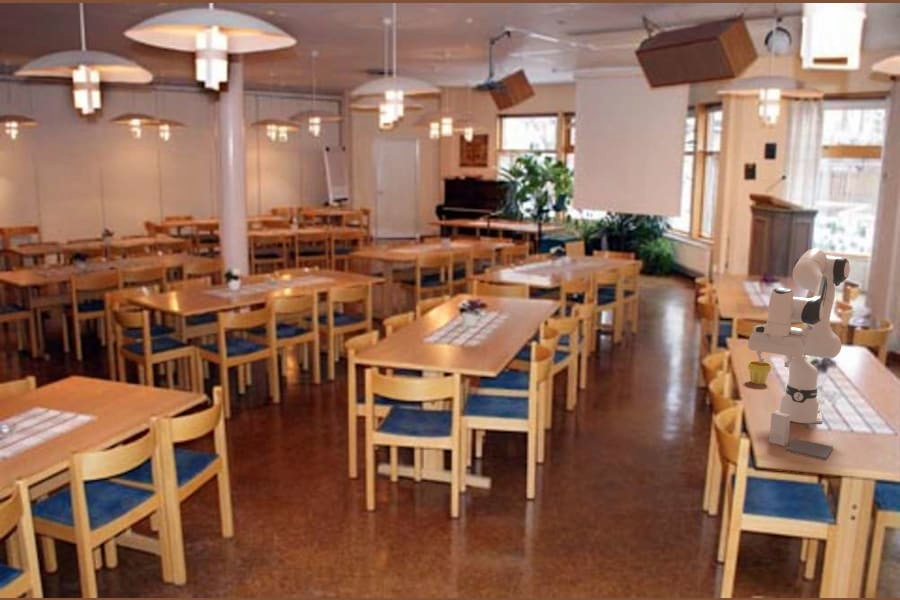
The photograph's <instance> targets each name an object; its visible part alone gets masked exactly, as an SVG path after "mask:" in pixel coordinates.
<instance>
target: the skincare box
mask: <svg viewBox="0 0 900 600" xmlns="http://www.w3.org/2000/svg"><path fill="white" fill-rule="evenodd" d="M790 423H791V421H790V415H789V414H785V413H781V412H777V410H775V411H774V412H772V413H771V417H770V427H769V428H770V431H769V439H768V440H769V443H771V444H775V445H779V446H782V447H786V446H787V445H788V444H789V437H790V428H791V427H790V425H791V424H790Z"/></svg>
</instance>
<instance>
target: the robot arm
mask: <svg viewBox="0 0 900 600" xmlns="http://www.w3.org/2000/svg"><path fill="white" fill-rule="evenodd" d="M850 271H851V265H850V262H849V260H848V259H847V258H845V257H841V256H833V255H827V253H825V251H824V250H821V249H819V248H810V249H808V250H807V251H805V252H804V253H803V254H802V255H801V256H798V257H797V258H796V259H795V261H794V263H793V269H792V279H793V281H794V282H795V284H796V285H797V286H798V287H800V288H801V289H802V290H803V289H804V290H807V293H806V296H805V297H801V296H799V297H798V296H794V291H793V289H791V288H789V287H788V288H787V287H776V288H773V289H772V291H771V294H770V297H769V302H768V306H767V308H768V309H767V311H768V312H767V313H768V316H767V319H766V323H765V324H758V325H756V326H753V328H752V331H753V332H752V333H751V334H750V336H749V338H748V342H747V343H748V344H747V348H748V349H749V350H751V351H756V355H757V358H758V361H759V363H764V362H765V358H764V357H762V355H761V354H763V353H768V354H775V355H782V356H785V358H786V360H787V361H785V362H784V366H783V367H785V368H788V383H787V385H786V388H785V389H786V393H785V394H783V396H781V400H780V407H779V409H777V410H776V411H777V412H781V413H785V414H789V415H790V422H794V423H799V424H822V423H823V414H822V411H821V410H820V409H819V404H820V403H819V400H818V398H817V396H818V388H817V386H818V379H819V371H818V369H817V368H816V366H814V364H812V363H810V362H809V361H808V360H807V358H806V356H807V357H808V356H809V357H812V358H813V357H814V358H820V359H834V358H835V357H838V355H839V353H840V352H841V349H842V342H841V338H840V337H839V336H838V335H837V334H836V333H835V332H834V330H832V328H831V321H830V318H831V313H832V309H833V306H834V301H835V294H836V287H838V286H840V285H841V283H843V282H845V281H846V280H847V279H848V277H849V275H850V273H851V272H850ZM792 322H797V323H804V324H807V325H808V326H810V327H812V328H811V329H807V328H799V327H792Z"/></svg>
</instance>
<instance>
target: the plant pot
mask: <svg viewBox="0 0 900 600" xmlns="http://www.w3.org/2000/svg"><path fill="white" fill-rule="evenodd" d="M747 369H748V371H749V376H750V377H749V379H750V383H752V384H756V385H765V384H766V381H767V378H768V377H769V373H770V372H771V369H772V364H771V363H769V362H765V361H764V363H759V360H751V361H749V362H748V366H747Z"/></svg>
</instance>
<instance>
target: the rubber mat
mask: <svg viewBox="0 0 900 600" xmlns="http://www.w3.org/2000/svg"><path fill="white" fill-rule="evenodd" d="M833 449H834V446H831V445H827V444H823V443H817V442H814V441H809V440H805V439H799V438H795V437H794V438H793V439H792V441H791V442H790V444H789V445H788V446H787V447H786V449H785V451H786V452H788V451H789V452H788V453H792V452H793V454H796V453H798V454H797V455H801V454H802V455H801V456H805V455H806V456H805V457H810V456H811V458H814V457H815V459H818V458H820V459H819V460H823V459H824V460H823V461H827V460H826V459H828V458H829V457H830V455H831V453H832V452H833Z"/></svg>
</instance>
